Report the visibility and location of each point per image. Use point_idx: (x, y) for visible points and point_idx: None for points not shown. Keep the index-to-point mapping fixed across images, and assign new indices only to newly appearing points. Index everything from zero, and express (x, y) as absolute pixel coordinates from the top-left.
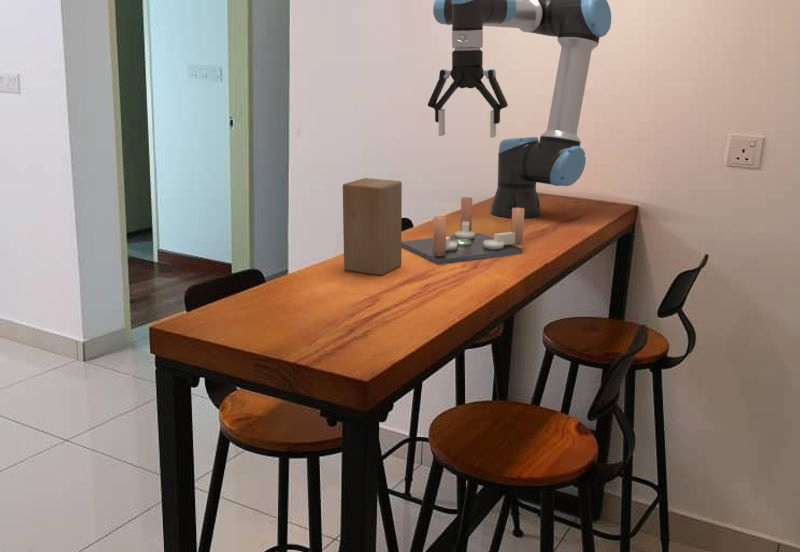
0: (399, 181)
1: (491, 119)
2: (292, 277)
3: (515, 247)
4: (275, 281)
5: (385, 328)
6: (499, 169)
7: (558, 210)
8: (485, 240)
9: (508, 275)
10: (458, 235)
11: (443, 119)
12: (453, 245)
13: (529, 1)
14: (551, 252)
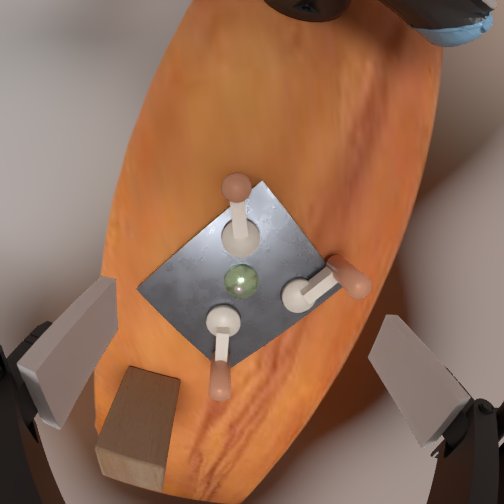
0: (162, 470)
1: (407, 413)
2: (101, 416)
3: None
4: (97, 424)
5: (227, 480)
6: None
7: None
8: (285, 290)
9: (315, 382)
10: (230, 253)
11: (77, 350)
12: (236, 332)
13: None
14: (379, 265)
